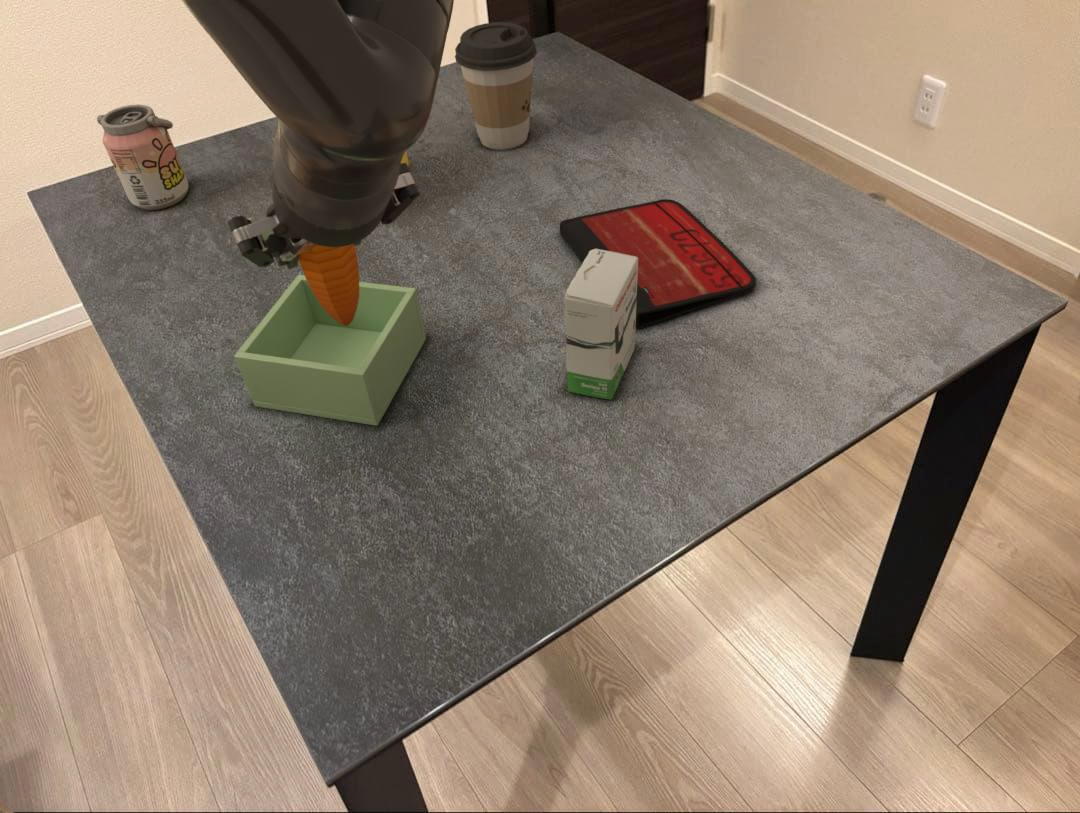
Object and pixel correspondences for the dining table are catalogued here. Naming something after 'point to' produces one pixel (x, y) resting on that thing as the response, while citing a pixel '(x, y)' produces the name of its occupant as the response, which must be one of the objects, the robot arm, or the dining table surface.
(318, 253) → the carrot
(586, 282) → the ink box
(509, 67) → the coffee cup
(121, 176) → the beverage can
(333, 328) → the bin
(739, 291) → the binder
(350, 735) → the dining table surface
